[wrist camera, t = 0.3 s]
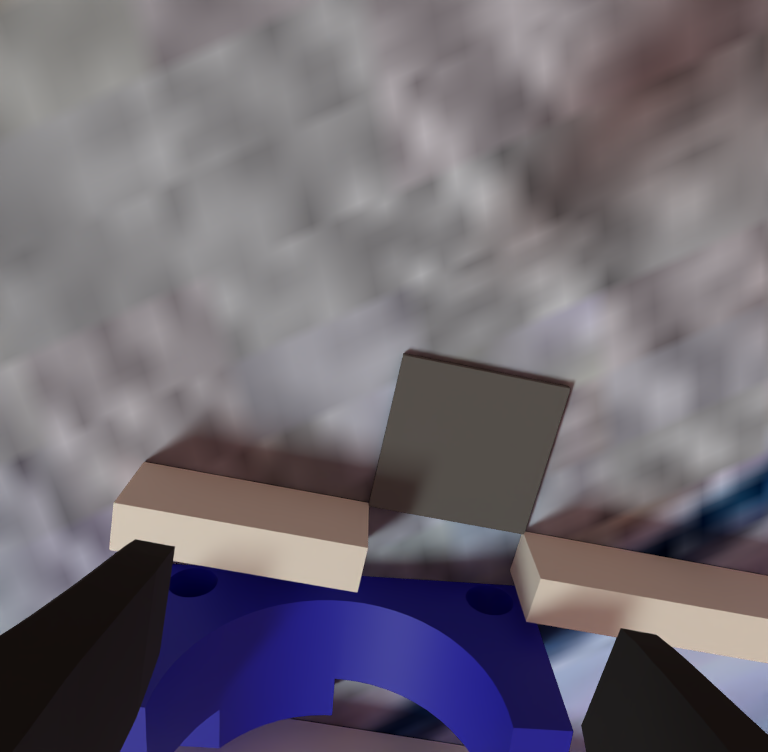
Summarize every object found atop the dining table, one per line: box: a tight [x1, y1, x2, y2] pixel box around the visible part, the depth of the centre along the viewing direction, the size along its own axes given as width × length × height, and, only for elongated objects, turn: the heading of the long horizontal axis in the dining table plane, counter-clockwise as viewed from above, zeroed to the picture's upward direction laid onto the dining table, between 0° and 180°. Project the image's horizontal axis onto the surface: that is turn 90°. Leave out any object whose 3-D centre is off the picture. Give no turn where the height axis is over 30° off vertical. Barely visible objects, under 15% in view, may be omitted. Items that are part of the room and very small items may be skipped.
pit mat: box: [369, 353, 570, 534], centre depth 20 cm, size 5×5×1 cm
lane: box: [109, 462, 768, 752], centre depth 22 cm, size 10×27×3 cm, turn 78°
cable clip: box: [120, 564, 573, 752], centre depth 20 cm, size 12×4×6 cm, turn 85°
